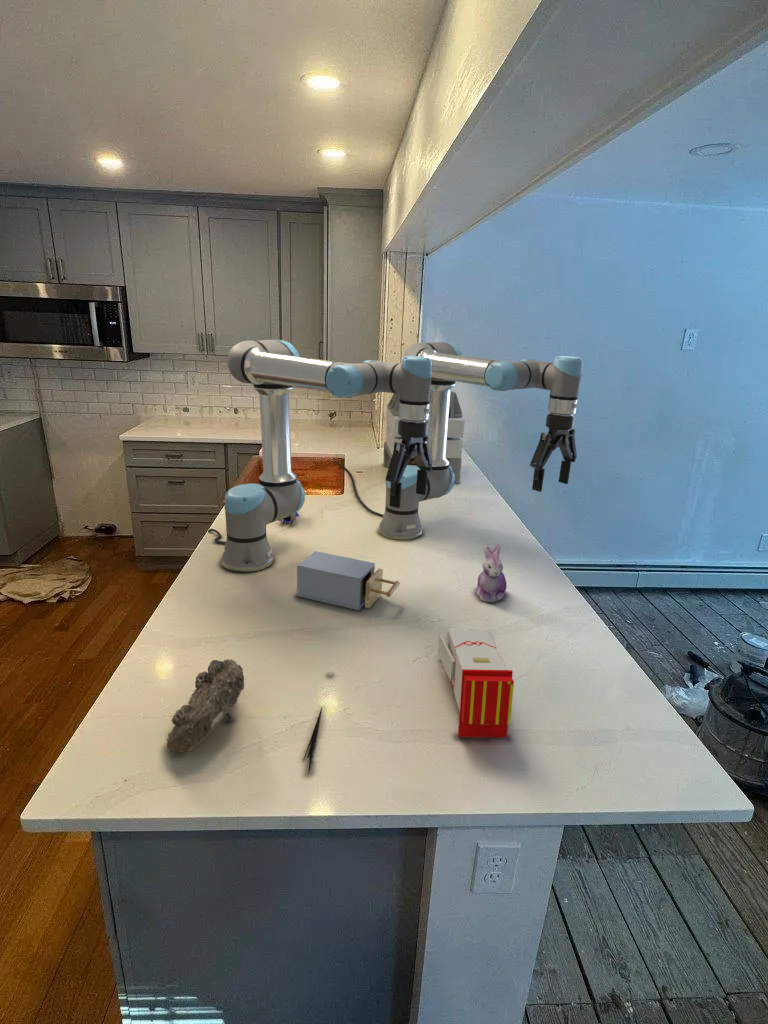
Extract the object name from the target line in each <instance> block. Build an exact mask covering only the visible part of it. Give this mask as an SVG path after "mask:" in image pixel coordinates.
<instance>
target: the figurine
mask: <svg viewBox="0 0 768 1024" xmlns="http://www.w3.org/2000/svg"><path fill="white" fill-rule="evenodd" d="M500 553H501V545H500V544H496V545H495V547H494V549H493V550H491V547H490V546H489V545H487V544H485V545H484V561H483V564H482V570H483V571H482V572H481V573H480V574H478V576H477V586H476V595H477V596H478V597H479V599H480V600H481V601H483V602H488V603H495V602H496V601H501V600H502V599H503V598H504V596H505V593H506V590H507V580H506V576H505V574H504V572H503V570H504V566H503V562H502V560H501V558H500Z"/></svg>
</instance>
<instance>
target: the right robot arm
mask: <svg viewBox="0 0 768 1024" xmlns="http://www.w3.org/2000/svg"><path fill="white" fill-rule="evenodd" d="M404 356H423V357H428V358H430V359H431V361H432V379H431V389H430V402H429V409H430V412H429V416H428V419H427V420H426V421H427V422H428V433H427V436H429V448H430V453H431V459H432V470H431V471H427V485H426V495H421V494H417V493H416V483H417V470H421V469H419V467H418V464H416V466H413V465H407V466H406V468H405V471H404V473H403V475H402V478H401V480H400V483H402V485H401V502H400V508H396V507H392V506H390V487H391V483H390V482H388V481H386V480H385V504H384V505H385V507H384V508H385V509H384V513H380V512H377V511H374V510H373V509H371V508H370V507H368V506H367V505H366V504H365V503H364V501H362V499H361V498H360V496H359V494H358V492H357V489H356V485H355V480H354V477H353V475H352V474H351V472H350V471H349V469H348V468H347V467H346V466H344V465H343V464H342V463H340V462H338V461H337V460H333V463H334V464H336V465H338V466H340V467H341V468H342V469H344V471H346V472H347V473H348V475H349V477H350V479H351V484H352V488H353V491H354V492H353V493H354V495H355V497H356V498H357V500H358V502H359V503H360V504H361V505H362V506H363V507H364V508H365V509H366V510H367V511H368V512H370V513H372V514H374V515H376V516H379V517H382V519H381V522H379V527H378V533H379V534H380V535H381V536H382V537H385V538H387V539H389V540H395V541H410V540H415V539H418V538H420V537H421V536H422V535H423V525H422V524H421V518H420V515H419V507H420V506H419V505H420V502H423V501H428V500H433V499H440V498H442V497H443V496H446V495H448V494H449V493H450V492H451V491H452V489H453V488H454V485H455V483H454V481H455V476H454V473H453V472H452V471H453V470H452V468H451V467H450V466H449V461H448V460H447V459H446V458H445V456H446V442H447V429H448V416H449V403H450V390H451V391H452V389H453V388H454V387H455V386H456V383H457V382H458V383H463V384H464V383H465V384H469V385H476V386H482V387H487V388H489V389H491V390H492V391H496V392H497V391H498V392H506V391H511V390H514V391H515V390H525V389H540V390H546V391H549V398H548V406H547V414H546V417H545V418H546V419H545V426H546V428H547V429H548V432H547V433H546V432H541V433H540V438H539V441H538V443H537V446H536V449H535V451H534V453H533V455H532V458H531V461H530V463H529V467H531V468H534V471H533V476H532V478H533V479H532V487H531V490H532V491H535V492H539V493H541V492H542V491H543V485H544V484H543V483H544V478H545V477H544V476H545V470H546V469H545V468H544V467H545V466H546V463H547V462H548V460H549V459H550V457H551V455H552V453H553V452H554V451H556V450H557V448H559V451H560V453H561V457H562V459H563V460H561V462H560V469H559V476H558V483H561V484H564V485H568V484H569V478H570V472H571V466H572V463H575V462H576V459H577V457H578V456H577V446H576V437H575V435H576V429H575V428H574V424H575V419H576V416H575V414H576V411H577V407H578V398H579V392H580V387H581V382H582V381H581V380H582V377H583V365H584V360H583V359H582V358H581V357H578V356H569V355H557V356H555V358H554V361H553V362H550V361H549V362H548V361H542V360H536V359H521V360H519V361H508V360H499V359H489V358H482V357H475V356H469V355H467V356H466V355H464V354H463V352H462V351H461V350H460V347H458V346H457V345H456V344H454V343H451V342H445V341H443V342H442V341H441V342H440V341H439V342H438V341H437V342H417V343H414V344H411V345H410V346H408V347H407V348H406V350H405V351H404V353H403V355H402V358H403V357H404ZM427 462H428V461H427Z"/></svg>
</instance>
